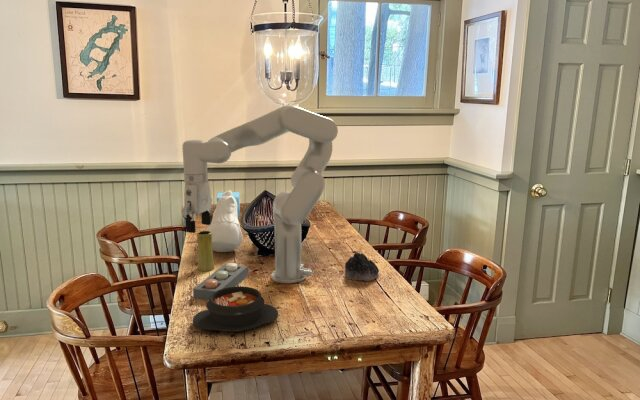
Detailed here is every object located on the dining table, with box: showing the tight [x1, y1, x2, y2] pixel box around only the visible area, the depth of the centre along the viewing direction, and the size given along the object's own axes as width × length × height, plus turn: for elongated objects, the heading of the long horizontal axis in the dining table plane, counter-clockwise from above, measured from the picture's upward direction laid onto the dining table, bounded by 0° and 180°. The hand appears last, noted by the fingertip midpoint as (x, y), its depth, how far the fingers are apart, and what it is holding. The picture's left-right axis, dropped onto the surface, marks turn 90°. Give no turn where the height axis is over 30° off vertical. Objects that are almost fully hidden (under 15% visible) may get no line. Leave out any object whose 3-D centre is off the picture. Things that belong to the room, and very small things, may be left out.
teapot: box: [216, 190, 241, 218], centre depth 262 cm, size 22×11×14 cm, turn 8°
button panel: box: [192, 263, 249, 302], centre depth 175 cm, size 9×24×4 cm, turn 165°
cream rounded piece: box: [225, 262, 238, 272], centre depth 182 cm, size 4×4×3 cm
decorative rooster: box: [204, 190, 243, 253], centre depth 214 cm, size 25×16×25 cm
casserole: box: [192, 285, 279, 333], centre depth 149 cm, size 25×19×8 cm
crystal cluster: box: [344, 252, 380, 282], centre depth 185 cm, size 13×14×10 cm
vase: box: [196, 230, 215, 272], centre depth 190 cm, size 6×6×14 cm
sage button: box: [216, 271, 228, 280], centre depth 175 cm, size 4×4×3 cm
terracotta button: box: [205, 279, 218, 289], centre depth 167 cm, size 4×4×3 cm
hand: (198, 228), depth 170 cm, fingers open, 9 cm apart
